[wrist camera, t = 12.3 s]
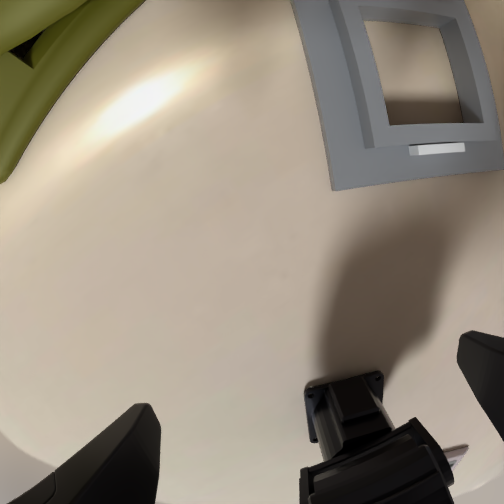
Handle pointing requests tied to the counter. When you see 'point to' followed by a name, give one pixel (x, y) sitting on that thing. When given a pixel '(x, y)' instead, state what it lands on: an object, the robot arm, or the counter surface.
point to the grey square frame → (372, 100)
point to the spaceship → (45, 60)
